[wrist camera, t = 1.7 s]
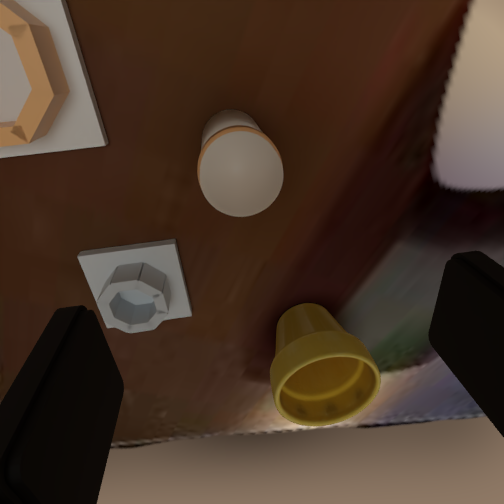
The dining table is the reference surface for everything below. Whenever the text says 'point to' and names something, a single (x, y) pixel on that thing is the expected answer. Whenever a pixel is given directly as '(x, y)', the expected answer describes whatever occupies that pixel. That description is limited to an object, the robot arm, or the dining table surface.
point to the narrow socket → (137, 284)
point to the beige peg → (238, 165)
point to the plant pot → (320, 369)
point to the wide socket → (44, 82)
